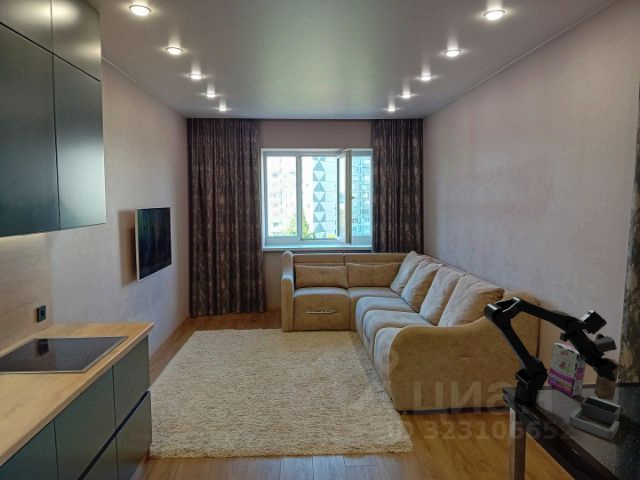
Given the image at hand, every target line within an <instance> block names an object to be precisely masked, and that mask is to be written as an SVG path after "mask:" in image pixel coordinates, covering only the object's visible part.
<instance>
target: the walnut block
mask: <svg viewBox="0 0 640 480" xmlns="http://www.w3.org/2000/svg"><path fill="white" fill-rule="evenodd" d="M602 358H603V359H604V358H605V357H602ZM610 359H611V360H612V361H613V362H614V363H615V364H616V365H617V368H616V369H615V370H613V371H612V372H613V375H614V377H615V379H616V381H614V382H612V381H610V380H609V379H607V378H605V377H600V376H599V375H598V374H597V373H596V378H595V379H596V380H595V386H594V392H593V393H594V395H595V396H596V398H598V399H601V400H604V401H614V397H615V392H616V386H617V382H618V381H617V380H618V375H619V369H620V363H619V362H617V361H616V360H615V359H613V358H610Z"/></svg>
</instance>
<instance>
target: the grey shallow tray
mask: <svg viewBox="0 0 640 480" xmlns="http://www.w3.org/2000/svg"><path fill="white" fill-rule="evenodd" d="M581 412H582V408H580V407H578V406H577V408H576V409H575V410H574V411H573V412H572V413H571V414H570V415H569V416H568V417H569V418H568V422H567V424H568V425H570V426H572V427H575V428H578V429H580V430H583V431H584V432H585V431H586V432H588V433H591V434H594V435H596V436H599V437H601V438H603V439H607V440H609V441H612V440H613V438H614V436H615V435H616V434H617V432H618V431H619V429H620V428H619V427H620V421H619V420H618V421H615V422H614V423H613V425H612V426H611V425H610V427H609V429H607V428H605V427H603V426H599V425H597V424H594V423H591V422H588V421H586V420H583V419H581V418H580V417H581V416H582V415H581Z"/></svg>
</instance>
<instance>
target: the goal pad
mask: <svg viewBox="0 0 640 480" xmlns="http://www.w3.org/2000/svg"><path fill="white" fill-rule="evenodd" d="M590 397H591V398H594V399H596V400H599V401H602V402H605V403H608V404H611V405H614V406H617V407H620V408H621V405H620V404H619V405H618V404H616V403H612V402H610V401H608V400H605V399H599V398H598V397H595V396H590Z"/></svg>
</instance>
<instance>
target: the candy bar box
mask: <svg viewBox="0 0 640 480" xmlns="http://www.w3.org/2000/svg"><path fill="white" fill-rule="evenodd" d="M586 365H587V364H586V363H585V362H584V359H583V360H582V359H581V357H580V354H579V352H578V351H577V350H576V349H575V348H574V346H573V345H569V344H567V343H566V342H553V344H552V351H551V359H550V364H549V370H548V371H549V372H548V378H547V384H548V385H549V386H551V387H553V388H555V389H556V390H558V391H560V392H562V393H564V394H566V395H568V396H570V397H572V398H573V397H579V396H582V392H583V391H582V390H583V384H584V379H585V371H586Z"/></svg>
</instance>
